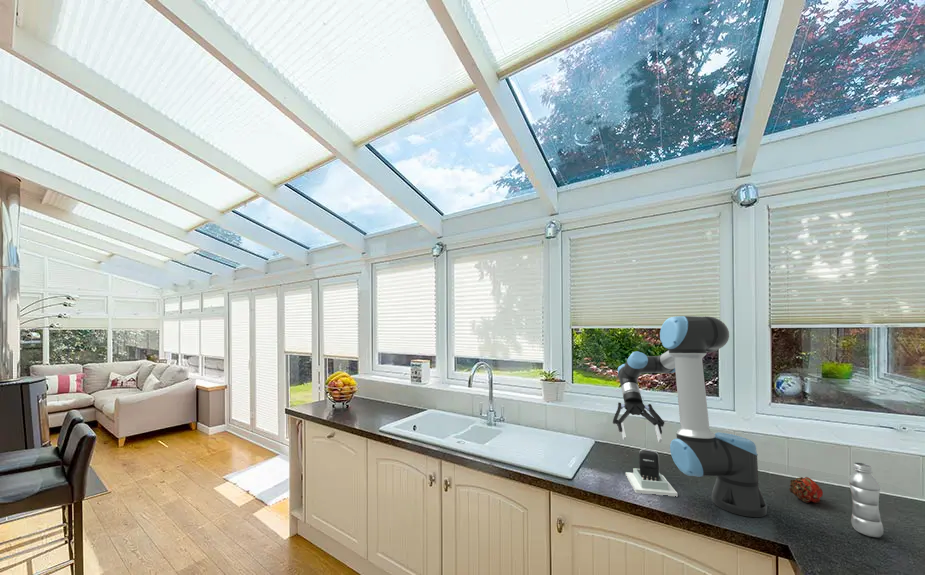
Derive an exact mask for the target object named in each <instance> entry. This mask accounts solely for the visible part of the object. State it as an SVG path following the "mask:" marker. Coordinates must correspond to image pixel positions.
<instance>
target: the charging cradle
mask: <svg viewBox="0 0 925 575" xmlns="http://www.w3.org/2000/svg"><path fill="white" fill-rule="evenodd" d="M632 471H633V472H627V471H626V472H625V477H626V476H627V477H626V478H627V480H628V482H629V484H630V485H631V487H632V489H633V491H634V492H635V493H636V494H641V493H642V495H652V494H656V496H663V495H668V496H667V497H675V496H676V498H677V497H678V496H679V494H678V492H677V491H676V490H675V488H674V487H673V485H671V483H670V482H669V481H668V480H667V478H666V477H665V476H664V475H663V474H661V473H660V472H659V480H660V481H650V480H643V478H642V477H641V475H640V468H636V467H635V468H632Z"/></svg>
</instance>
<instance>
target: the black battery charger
mask: <svg viewBox="0 0 925 575" xmlns="http://www.w3.org/2000/svg"><path fill="white" fill-rule="evenodd" d="M638 463H639V469H640V475H641V477H642V478H643V480H650V481H660V480H659V473H660V455H659V454H658V452H657V451H655V450H651V449H650V450H649V449H640V450H639V452H638Z"/></svg>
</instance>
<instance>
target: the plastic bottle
mask: <svg viewBox="0 0 925 575" xmlns="http://www.w3.org/2000/svg"><path fill="white" fill-rule="evenodd" d="M852 468H853V470H854V472H852V473H851V474H850V475H849V477H848V483H849V485H848V486H849V488H850V492H851V498H852V513H851V518H850V523H851V526H852V527H853V528H854V530H855V531H856V532H858V533H860V534H862V535H865V536H867V537H870V538H871V537H872V538H881V537H882V536H883V535H884V525H883V523H882V520H881V513H880V510H879V509H880V508H879V507H880V505H879V498H880V493H881V491H880V490H881V486H880V484H879V482H878V481H877V479H876V478H875V477H874V476H873V470H872V465H870V464H867V463H862V462H856V461H855V462H854V461H853V467H852Z"/></svg>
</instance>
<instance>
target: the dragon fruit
mask: <svg viewBox="0 0 925 575" xmlns="http://www.w3.org/2000/svg"><path fill="white" fill-rule="evenodd" d="M789 487H790V488H788V490H789V492H790V493H792V494H793V495H794V496H795V497H797V498H798V499H799V500H800V501H802V502H804V503H806V504H808V503H810V502H813V504H816V503H817V504H820V502H821V498H822V497H823V494H824V493H823V490H822V488H821V487H820V485H819V484H817V483H816V482H815V481H814V480H813V479H811V478H809V476H808V477H807V476H805V477H802V476H799V477H797V478H795V479H790V481H789Z"/></svg>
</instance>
